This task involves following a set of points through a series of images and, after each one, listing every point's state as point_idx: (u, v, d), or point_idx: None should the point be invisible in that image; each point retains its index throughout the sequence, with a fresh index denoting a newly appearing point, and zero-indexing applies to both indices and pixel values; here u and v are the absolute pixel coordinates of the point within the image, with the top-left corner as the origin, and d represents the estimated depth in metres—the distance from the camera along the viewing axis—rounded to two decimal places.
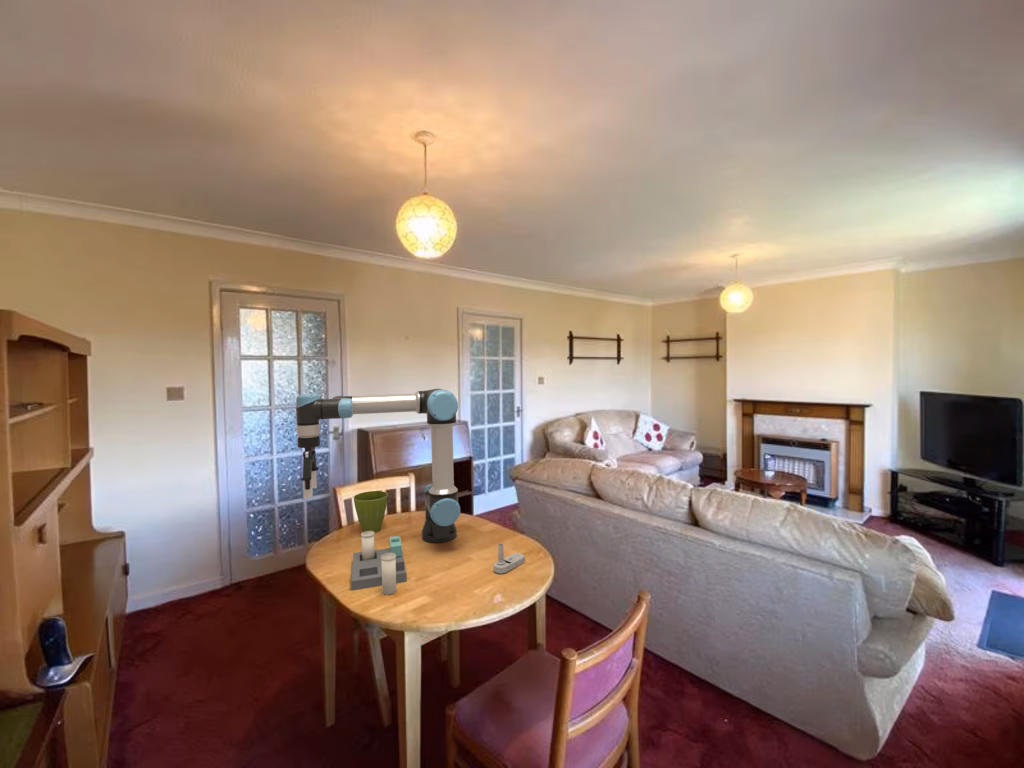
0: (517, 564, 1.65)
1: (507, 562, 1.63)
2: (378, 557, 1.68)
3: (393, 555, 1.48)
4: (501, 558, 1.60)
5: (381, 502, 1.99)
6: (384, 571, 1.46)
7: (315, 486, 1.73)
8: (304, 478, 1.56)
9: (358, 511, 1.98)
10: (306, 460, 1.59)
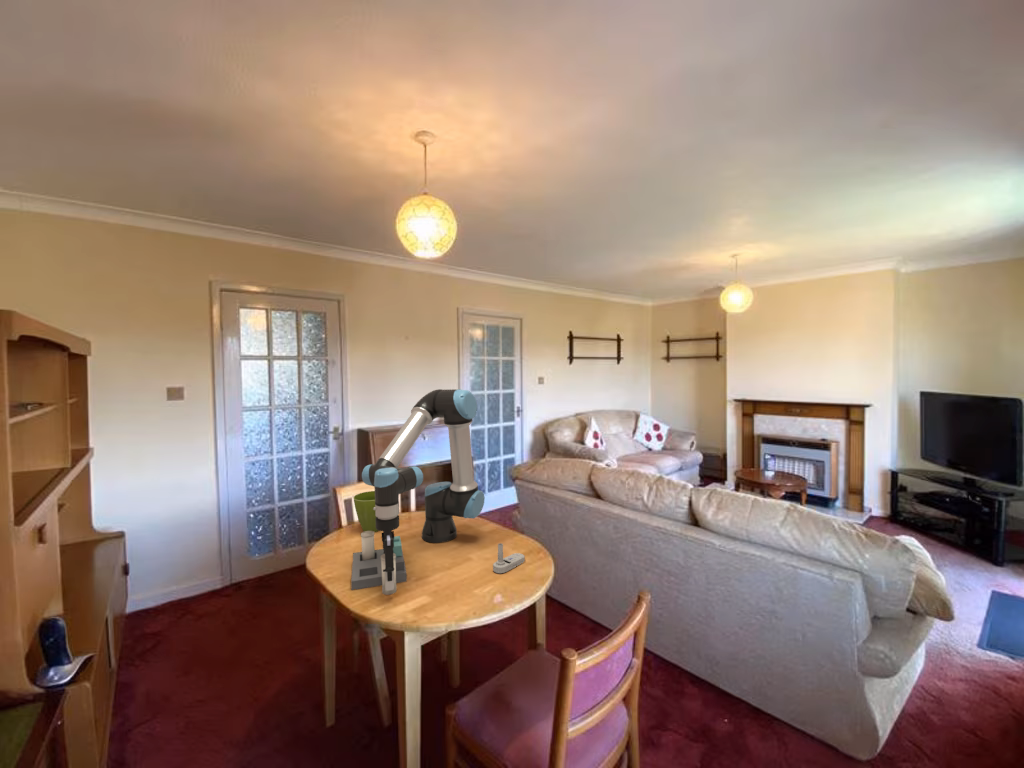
0: (517, 564, 1.65)
1: (507, 562, 1.63)
2: (378, 557, 1.68)
3: (393, 555, 1.48)
4: (500, 558, 1.61)
5: None
6: None
7: None
8: (387, 570, 1.39)
9: (358, 511, 1.98)
10: (388, 548, 1.41)
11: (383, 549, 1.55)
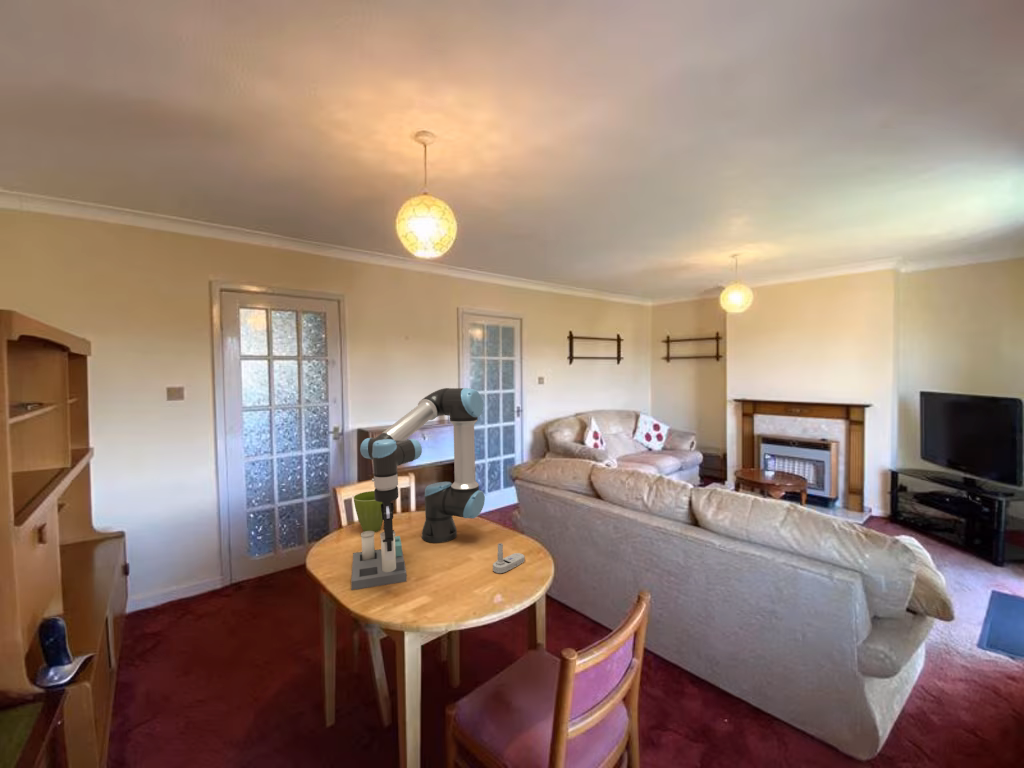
0: (517, 564, 1.65)
1: (506, 562, 1.63)
2: (378, 557, 1.68)
3: None
4: (500, 558, 1.61)
5: (381, 502, 1.99)
6: (384, 549, 1.46)
7: None
8: (387, 540, 1.42)
9: (358, 511, 1.98)
10: (387, 521, 1.42)
11: None
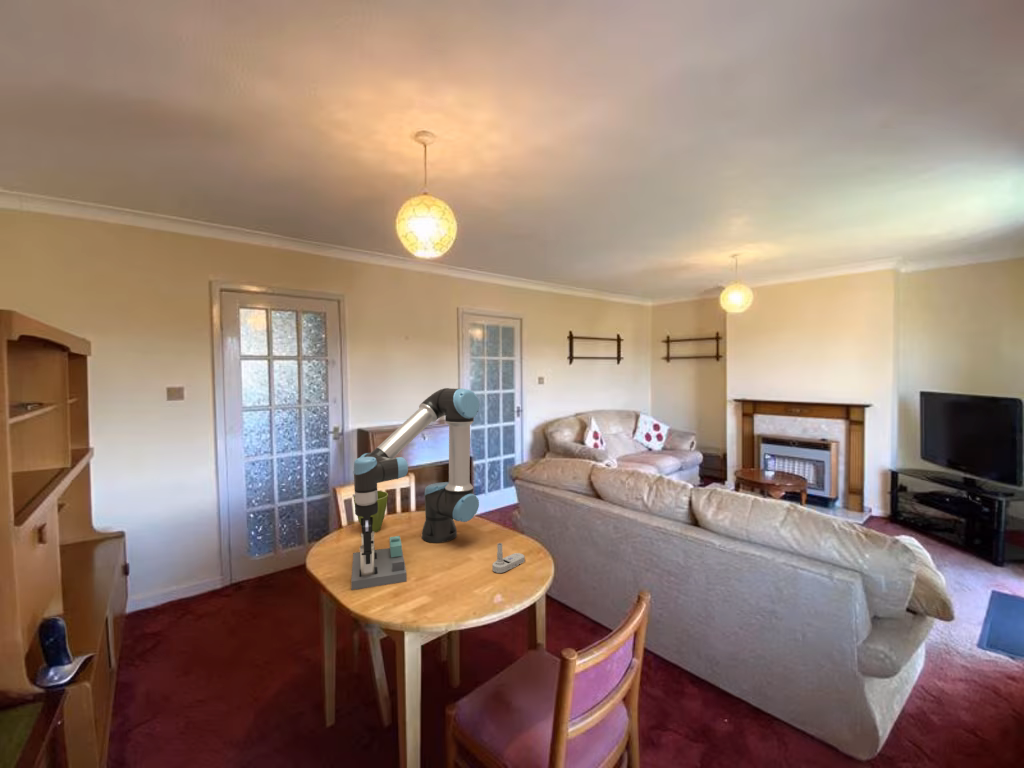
0: (516, 564, 1.65)
1: (506, 562, 1.63)
2: (378, 557, 1.68)
3: (371, 546, 1.56)
4: (500, 558, 1.61)
5: (381, 502, 1.99)
6: (363, 561, 1.54)
7: None
8: (365, 553, 1.49)
9: None
10: (366, 534, 1.49)
11: None
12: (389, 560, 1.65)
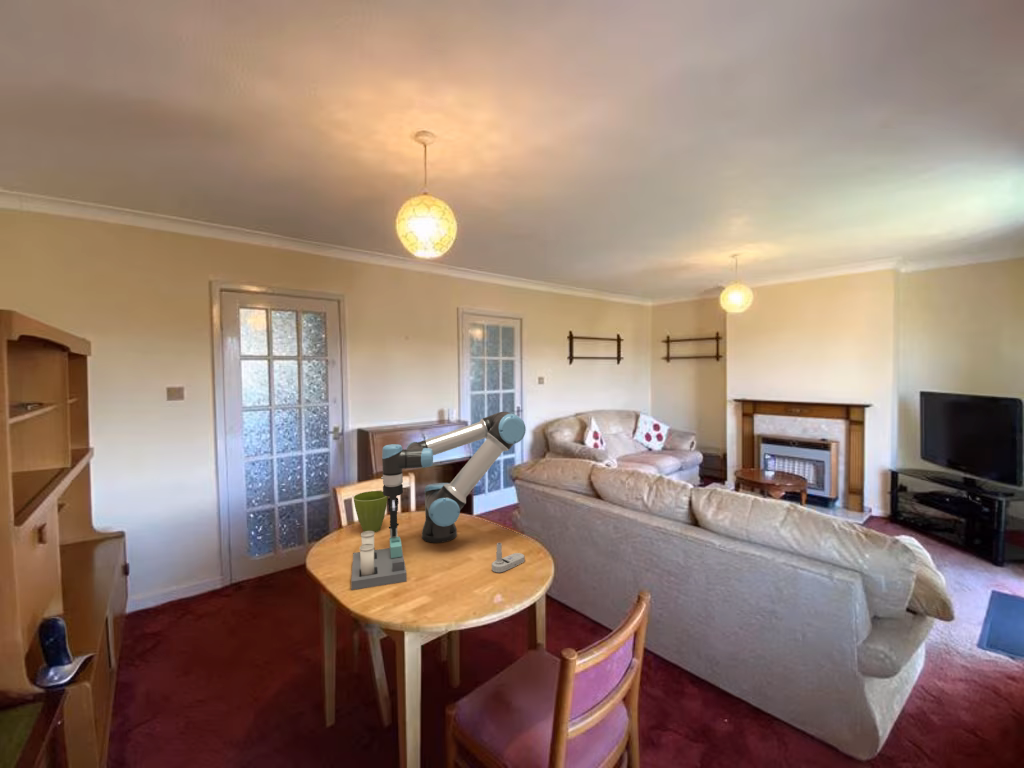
0: (516, 564, 1.65)
1: (506, 561, 1.63)
2: (378, 557, 1.68)
3: (371, 546, 1.56)
4: (499, 557, 1.61)
5: (381, 502, 1.99)
6: (363, 561, 1.54)
7: None
8: (392, 527, 1.73)
9: (358, 511, 1.98)
10: (393, 513, 1.71)
11: None
12: (389, 560, 1.65)
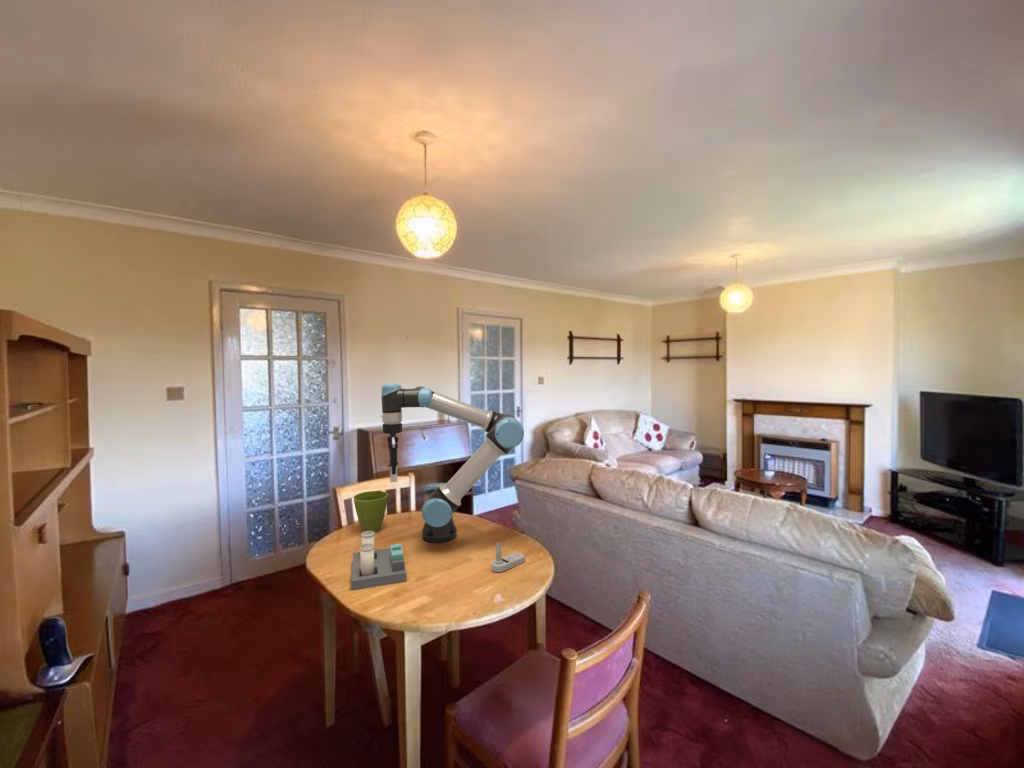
0: (516, 564, 1.65)
1: (505, 561, 1.64)
2: (378, 557, 1.68)
3: (371, 546, 1.56)
4: (498, 557, 1.61)
5: (381, 502, 1.99)
6: (363, 561, 1.54)
7: None
8: (392, 464, 1.75)
9: (358, 511, 1.98)
10: (393, 450, 1.73)
11: (389, 461, 1.81)
12: (389, 560, 1.65)
